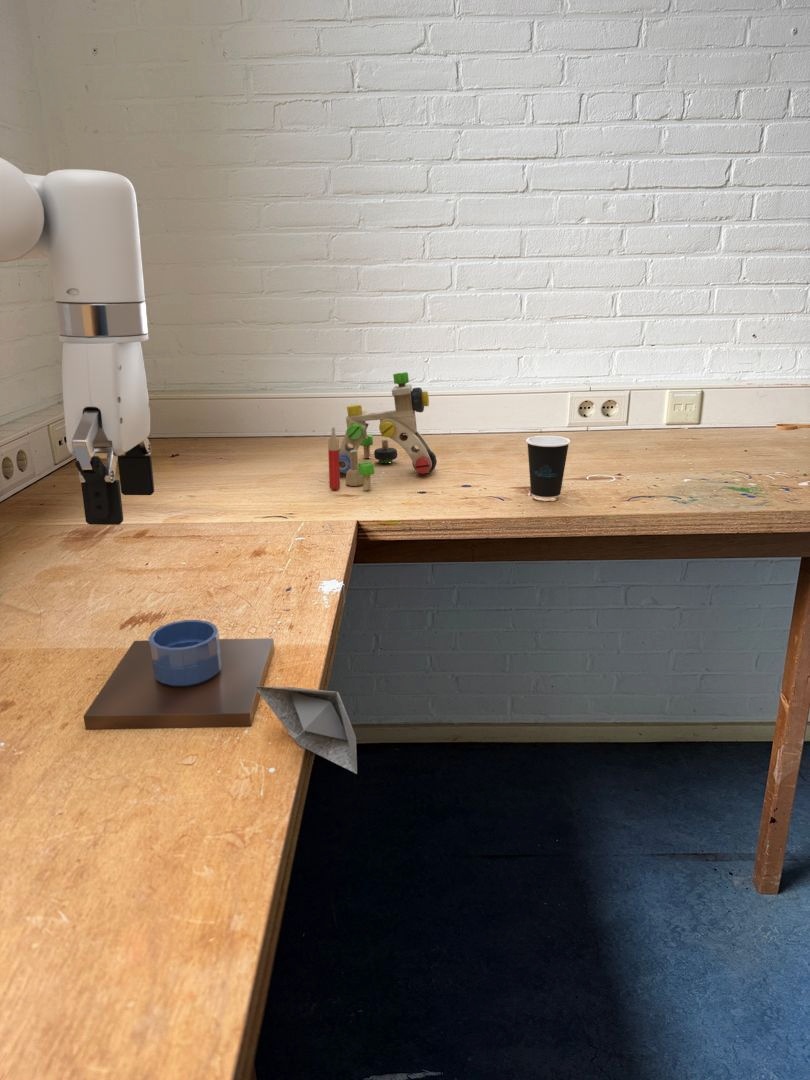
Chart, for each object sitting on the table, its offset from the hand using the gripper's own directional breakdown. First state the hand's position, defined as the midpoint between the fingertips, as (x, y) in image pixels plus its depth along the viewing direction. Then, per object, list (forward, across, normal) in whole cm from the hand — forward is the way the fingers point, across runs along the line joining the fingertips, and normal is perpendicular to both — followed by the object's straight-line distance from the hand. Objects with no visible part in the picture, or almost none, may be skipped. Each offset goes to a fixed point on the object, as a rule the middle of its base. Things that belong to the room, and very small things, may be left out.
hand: (122, 508), depth 76 cm
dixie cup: (+18, -69, +54) cm, 90 cm away
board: (+20, -2, +4) cm, 21 cm away
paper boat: (+20, +10, +18) cm, 29 cm away
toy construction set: (+19, -87, +22) cm, 92 cm away
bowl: (+19, -2, +4) cm, 19 cm away
